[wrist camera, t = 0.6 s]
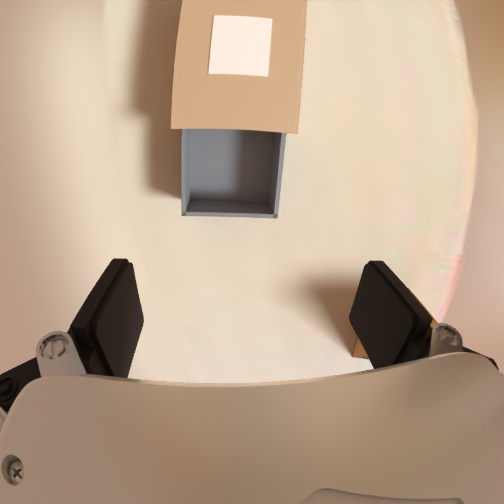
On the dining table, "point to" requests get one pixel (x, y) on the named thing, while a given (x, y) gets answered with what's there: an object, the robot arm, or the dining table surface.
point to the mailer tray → (231, 172)
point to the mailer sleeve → (239, 65)
